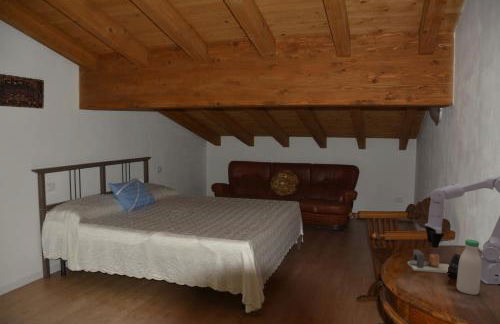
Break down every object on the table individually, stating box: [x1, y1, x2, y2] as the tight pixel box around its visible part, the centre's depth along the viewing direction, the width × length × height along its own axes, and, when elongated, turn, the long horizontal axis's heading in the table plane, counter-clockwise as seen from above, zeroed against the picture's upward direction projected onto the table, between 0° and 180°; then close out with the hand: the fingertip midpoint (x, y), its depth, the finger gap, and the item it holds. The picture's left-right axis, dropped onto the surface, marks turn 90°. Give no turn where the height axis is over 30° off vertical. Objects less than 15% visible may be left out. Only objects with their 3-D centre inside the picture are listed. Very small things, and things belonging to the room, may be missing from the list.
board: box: [407, 261, 450, 274], centre depth 172 cm, size 9×18×1 cm, turn 85°
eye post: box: [412, 249, 425, 268], centre depth 172 cm, size 7×2×6 cm, turn 175°
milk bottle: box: [456, 239, 481, 296], centre depth 148 cm, size 8×8×20 cm
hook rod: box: [408, 253, 440, 267], centre depth 172 cm, size 12×4×5 cm, turn 85°
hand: (432, 244), depth 173 cm, fingers open, 7 cm apart
